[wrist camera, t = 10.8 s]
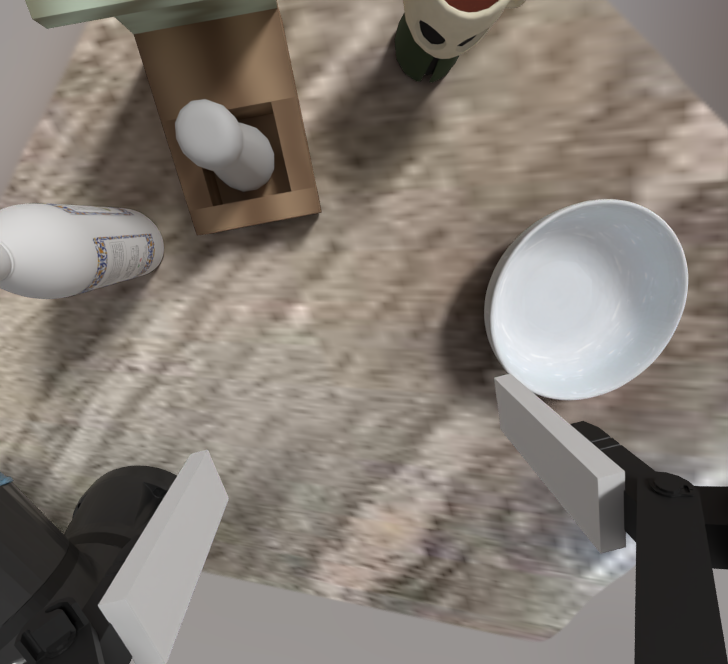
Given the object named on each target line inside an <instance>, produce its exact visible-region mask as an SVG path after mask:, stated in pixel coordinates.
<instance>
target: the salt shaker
mask: <svg viewBox="0 0 728 664" xmlns="http://www.w3.org/2000/svg"><path fill="white" fill-rule="evenodd" d="M175 131H176V139H177V141H178V144H179V146H180V148H181V150H182V152H183V153H184V154H185V155H186V156H187V157H188V158H189V159H190V160H191V161H193V162H194V163H195V164H196V165H197V166H200V167H203V168H206V169H208V170H211V171H214V172H215V174H216V175H217V176H218V177H219V178H220V179H221V180H222V181H223V182H225V183H226V184H227V185H228V186H229V187H231V188H234V189H237V190H240V191H243V192H245V191H251V190H257V189H259V188H260V187H262V186H263V185H264V184H266V183H267V182H268V181H269V179H270V177H271V175H272V173H273V171H274V152H273V150H272V148H271V145H270V143H269V141H268V139H267V138H266V137H265V136H264V135H263V134H262V133H261V132H260V131H259V130H258V129H257V128H255V127H252V126H249V125H246V124H243V123H239V122H238V121H237V119H236V118H235V117H234V116H233V115H232V114H231V113H230V112H229V111H228V110H227V109H226V108H225V107H224V106H223V105H221V104H218V103H215V102H212V101H209V100H206V99H202V100H195V101H190V102H189V103H188V104H187V105H186V106H184V107H183V108H182V109H181V110H180V112H179V115H178V117H177V119H176V122H175Z"/></svg>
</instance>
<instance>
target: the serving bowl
mask: <svg viewBox="0 0 728 664" xmlns="http://www.w3.org/2000/svg"><path fill="white" fill-rule="evenodd" d="M687 291H688V270H687V263H686V259H685V255H684V251H683V249H682V246H681V244H680V242H679V240H678V238H677V236H676V235H675V233H674V232H673V230H672V229H671V228H670V227H669V225H668V224H667V223H666V222H665V221H664V220H663V219H662V218H660V217H659V216H658V215H657V214H655V213H654V212H652V211H650V210H649V209H647V208H645V207H643V206H641V205H638V204H635V203H632V202H628V201H622V200H614V199H600V200H591V201H585V202H581V203H577V204H574V205H571V206H568V207H565V208H563V209H560V210H557V211H555V212H553V213H551V214H549V215H547V216H545V217H543V218H542V219H540V220H538V221H537V222H535V223H534V224H532V225H531V226H530V227H528V228H527V229H526V230H525V231H524V232H522V233H521V234H520V235H519V236H518V237H517V238H516V239H515V240H514V241H513V242H512V244H511V245H510V246H509V247H508V248H507V250H506V251H505V252H504V254H503V255H502V257H501V258H500V260H499V262H498V263H497V265H496V267H495V269H494V271H493V274H492V276H491V278H490V282H489V285H488V288H487V292H486V297H485V306H484V320H485V327H486V332H487V336H488V340H489V343H490V345H491V348H492V350H493V352H494V354H495V356H496V358H497V359H498V361H499V362H500V364H501V365H502V367H503V368H504V369H505V371H506V372H507V373H508V374H512V375H513V376H514V377H515V378H516V379H517V380H519V381H520V382H521V383H522V384H523V385H524V386H526V387H527V388H528V389H529V390H530V391H531V392H533V393H535V394H537V395H540V396H543V397H547V398H551V399H557V400H580V399H586V398H591V397H595V396H599V395H602V394H605V393H608V392H610V391H612V390H615V389H617V388H619V387H620V386H622V385H624V384H626V383H627V382H629V381H631V380H632V379H634V378H635V377H636V376H638V375H639V374H640V373H642V372H643V371H644V370H645V369H646V368H647V367H648V366H649V365H650V364H651V363H652V362H653V361H654V360H655V359H656V358H657V357H658V356H659V355H660V353H661V352H662V351H663V349H664V348H665V347H666V345H667V344H668V342H669V341H670V339H671V337H672V336H673V334H674V332H675V330H676V328H677V326H678V323H679V321H680V319H681V316H682V313H683V310H684V307H685V302H686V297H687Z"/></svg>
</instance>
